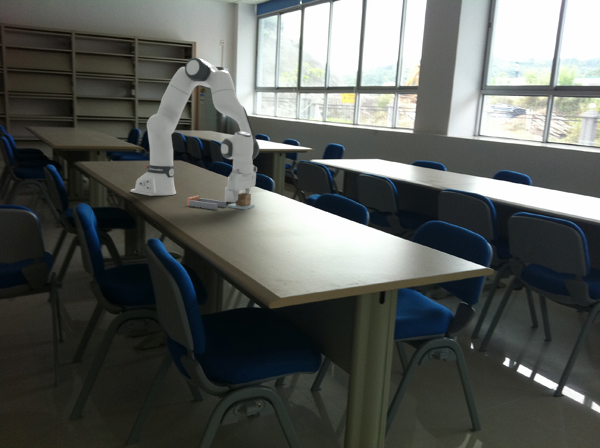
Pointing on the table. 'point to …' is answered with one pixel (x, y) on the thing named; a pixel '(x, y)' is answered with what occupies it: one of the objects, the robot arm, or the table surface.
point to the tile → (240, 206)
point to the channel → (205, 203)
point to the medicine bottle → (230, 194)
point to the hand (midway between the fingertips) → (241, 198)
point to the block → (243, 199)
